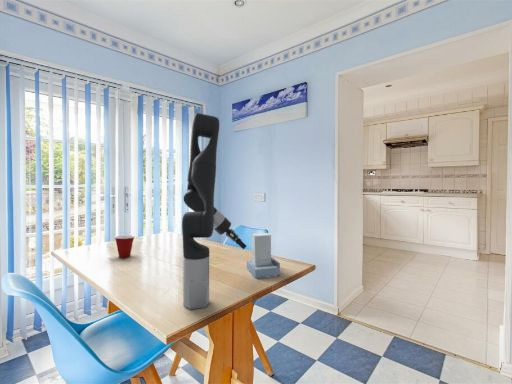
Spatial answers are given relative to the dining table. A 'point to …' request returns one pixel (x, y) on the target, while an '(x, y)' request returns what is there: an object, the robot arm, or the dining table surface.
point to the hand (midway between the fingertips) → (242, 245)
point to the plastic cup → (124, 245)
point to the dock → (264, 269)
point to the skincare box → (261, 249)
